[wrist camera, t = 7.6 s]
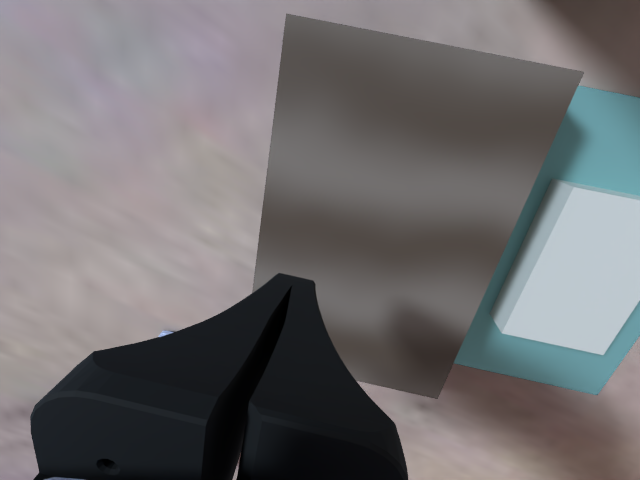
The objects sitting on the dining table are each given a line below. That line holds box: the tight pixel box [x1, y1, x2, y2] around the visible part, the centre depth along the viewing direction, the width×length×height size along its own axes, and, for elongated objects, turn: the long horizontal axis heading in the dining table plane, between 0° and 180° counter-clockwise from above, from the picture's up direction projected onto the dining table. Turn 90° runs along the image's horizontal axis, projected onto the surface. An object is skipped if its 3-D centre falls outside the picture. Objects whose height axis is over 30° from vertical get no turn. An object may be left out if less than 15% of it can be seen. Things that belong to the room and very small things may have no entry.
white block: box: [490, 178, 640, 355], centre depth 19 cm, size 9×6×2 cm, turn 169°
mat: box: [454, 86, 640, 395], centre depth 20 cm, size 18×12×1 cm, turn 169°
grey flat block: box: [252, 14, 584, 399], centre depth 19 cm, size 18×12×4 cm, turn 169°
